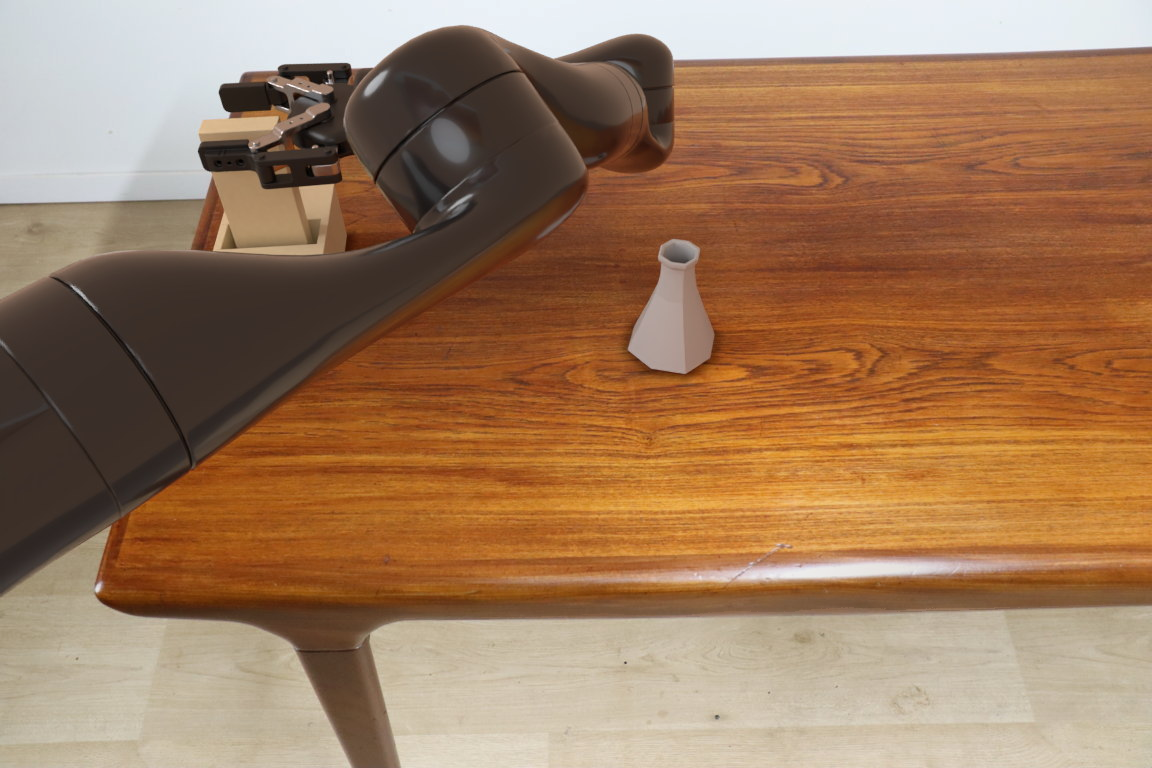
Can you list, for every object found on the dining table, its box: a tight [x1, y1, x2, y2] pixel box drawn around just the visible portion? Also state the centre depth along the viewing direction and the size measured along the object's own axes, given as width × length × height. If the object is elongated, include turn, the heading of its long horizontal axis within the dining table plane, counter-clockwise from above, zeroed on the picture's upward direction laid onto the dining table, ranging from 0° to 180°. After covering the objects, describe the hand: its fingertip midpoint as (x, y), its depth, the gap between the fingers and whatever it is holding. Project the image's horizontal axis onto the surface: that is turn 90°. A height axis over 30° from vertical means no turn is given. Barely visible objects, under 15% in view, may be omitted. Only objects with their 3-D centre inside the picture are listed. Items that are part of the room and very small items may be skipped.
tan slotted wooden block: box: [212, 184, 348, 255], centre depth 84 cm, size 15×9×6 cm, turn 5°
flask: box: [627, 238, 716, 375], centre depth 76 cm, size 7×7×10 cm
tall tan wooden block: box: [197, 115, 314, 249], centre depth 79 cm, size 6×2×15 cm, turn 94°
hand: (211, 126), depth 74 cm, fingers open, 8 cm apart
